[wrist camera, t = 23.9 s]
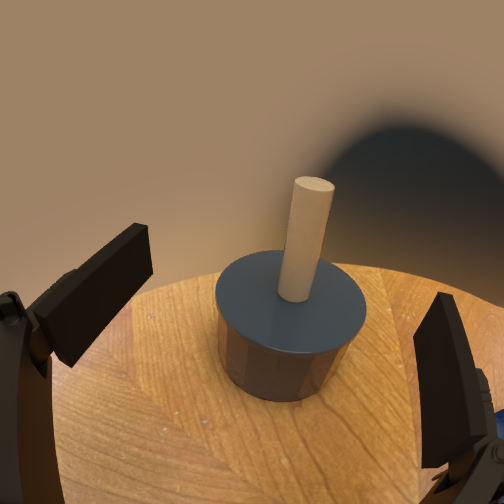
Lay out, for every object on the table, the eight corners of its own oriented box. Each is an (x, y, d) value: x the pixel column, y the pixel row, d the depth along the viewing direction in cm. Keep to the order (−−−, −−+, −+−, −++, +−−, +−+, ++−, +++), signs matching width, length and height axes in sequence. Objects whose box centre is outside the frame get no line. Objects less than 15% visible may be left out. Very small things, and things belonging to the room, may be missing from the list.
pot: (195, 344, 27) (191, 289, 23) (276, 296, 34) (285, 244, 30) (282, 426, 20) (300, 383, 16) (356, 352, 27) (381, 301, 23)
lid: (185, 294, 23) (179, 171, 18) (284, 247, 31) (298, 151, 25) (300, 395, 16) (351, 259, 11) (384, 307, 24) (426, 201, 18)
